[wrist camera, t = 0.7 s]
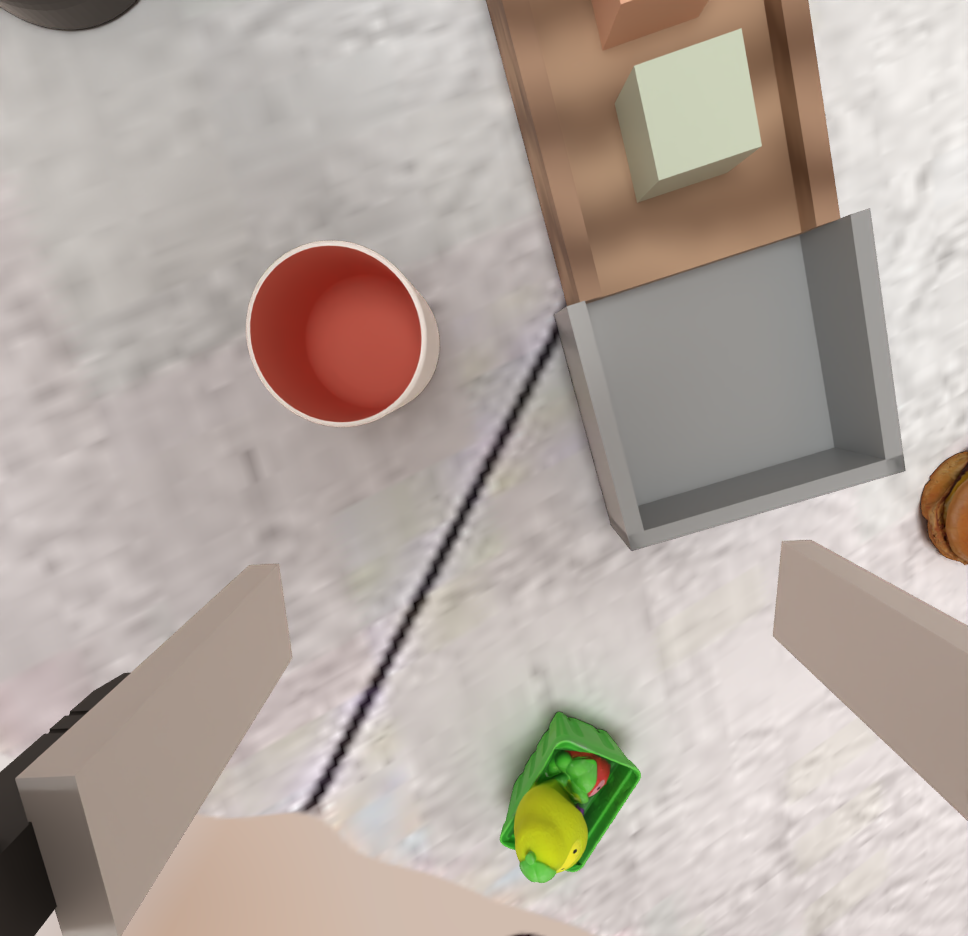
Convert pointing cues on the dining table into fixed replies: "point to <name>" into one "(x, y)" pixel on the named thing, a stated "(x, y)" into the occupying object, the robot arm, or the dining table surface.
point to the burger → (948, 507)
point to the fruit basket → (566, 798)
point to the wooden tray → (602, 158)
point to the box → (737, 384)
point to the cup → (340, 334)
